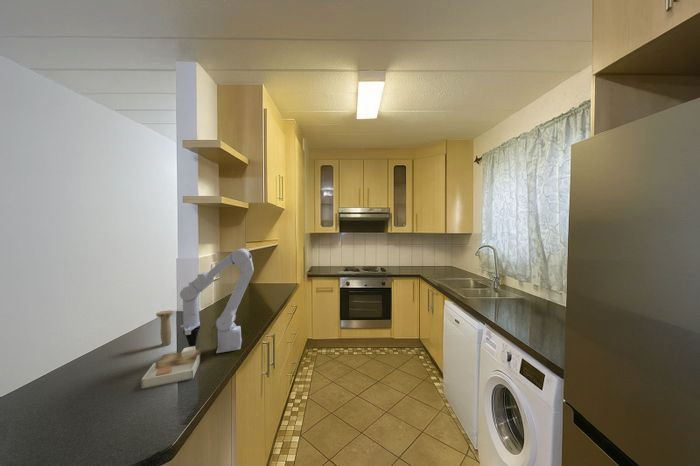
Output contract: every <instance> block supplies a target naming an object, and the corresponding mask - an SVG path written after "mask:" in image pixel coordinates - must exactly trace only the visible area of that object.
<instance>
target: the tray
mask: <svg viewBox="0 0 700 466" xmlns="http://www.w3.org/2000/svg"><path fill="white" fill-rule="evenodd" d="M200 363H201V355H198V356H197V358H196V360H195V362H193V363H188V364H182V365H177V366H172V373H171V374H165V375H160V376H156V373H157V371H158V368H157V362H153V364H152V365H150V367H149V369H148V370H147V371H146V373H144V375H143V376H142V378H141V379H140V386H141V388H140V389H141V390H143V389H148V388H153V387H158V386H162V385H167V384H168V385H169V384H173V383H178V382H183V381H187V380H192V379H194V378H195V376H196V373H197V371H198V369H199V366H200ZM160 369H161V368H160Z"/></svg>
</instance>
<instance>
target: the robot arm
mask: <svg viewBox="0 0 700 466" xmlns="http://www.w3.org/2000/svg"><path fill="white" fill-rule="evenodd" d="M234 265H236V266H237V267H238V269H239V270H240V275H239V277H238V280H237V282H236V283H235V286H234V288H233V289H232V292H231V294H230V298H229V299H228V301H227V304H226V306H225V308H224V310H223V311H222V312H221V315H220V316H219V317H218V318H217V319H216V321H215V328H217V348H216V352H215V353H216V354H220V353H225V352H226V353H227V352H232V351H238V350H241V347H242V343H243V338H242V327H241V325H237V324H236V323H235V321H236V318H237V314H236V313H237V310H238V307H239V305H240V303H241V302H242V298H243V296H244V294H245V292H246V289H247V288H248V286H249V283H250V280H251V279H252V277H253V274H254V271H255V268H254V264H253V256H252V254H251V252H250V251H249V249H247V248H242V247H241V248H238V249H236V250H234V251H233V252H232V253H230V254H228V255H227V256H226V257H224V258H223V259H221V260H220V261H219V262H218V263H217V264H216V265H215V266H213V268H211V269H210V270H209V271H206V272H202V273H201V272H200V273H198V274H197V277H196V278H195V279H193V281H189V282H188V286H187V285H186V286H185V287H182V289H181V291H180V293H179V296H180V298H181V300H182V314H183V315H182V318H183V324H181V325H180V328H181V329H182V328H183V331H182V333H183V335H184V337H186V340H187V343H188V345H189V347H194V346H195V347H196V345H197V342H198V336H199V335H198V334H199V331H200V329H201V322H200V306H199V305H200V304H199V295H200V294H201V293H202V292H203V291H204V290H205V289H207V288H208V287H209V286H210V285H211V284H213V282H214V280H215V279H214V278H215V277H216V276H217V275H218V274H220V273H221V272H222V271H223V270H225V269H226V268H227V267H229V266H234Z"/></svg>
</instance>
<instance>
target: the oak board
mask: <svg viewBox="0 0 700 466" xmlns="http://www.w3.org/2000/svg"><path fill="white" fill-rule="evenodd" d="M195 350H196V351H195V353H194V355H193V356H188V357H182V354H181V352H182V351H180V352H175V353H174V352H173V353H167V354H163V355H162V357H161V358H160V359H159V360H158V361H157V362H156V367H157V369H160V368H165V367H170V366H177V365H182V364H188V363H193V362H195V360H196V358H197V356H198V355H200V356H201V355H202V354H201V352H202V351H201V348H197V349H196V348H195Z"/></svg>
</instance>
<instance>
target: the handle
mask: <svg viewBox="0 0 700 466" xmlns="http://www.w3.org/2000/svg"><path fill="white" fill-rule="evenodd" d="M155 315H156V318H157V317H158V318H159V319H160V341H161V345H162V346H164V347H165V346H168V345H170V344H171V342H172V328H171V319H170V317H171V316H172V315H174V310H171V309H169V310H162V311H161V310H160V311H158V312H156V313H155Z"/></svg>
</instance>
